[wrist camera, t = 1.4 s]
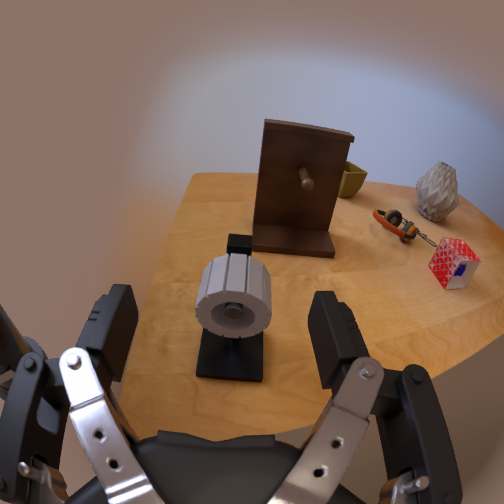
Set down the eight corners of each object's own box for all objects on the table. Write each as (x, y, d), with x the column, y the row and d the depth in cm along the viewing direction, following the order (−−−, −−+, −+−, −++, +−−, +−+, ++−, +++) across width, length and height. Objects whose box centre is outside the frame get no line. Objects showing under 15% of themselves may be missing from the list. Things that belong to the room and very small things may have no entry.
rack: (251, 251, 51) (265, 128, 37) (252, 222, 59) (264, 118, 45) (333, 258, 51) (366, 146, 38) (324, 230, 59) (348, 131, 46)
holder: (196, 376, 30) (183, 288, 21) (204, 324, 37) (201, 230, 27) (262, 382, 30) (286, 298, 21) (262, 330, 37) (280, 237, 27)
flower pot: (360, 199, 76) (368, 172, 70) (340, 202, 73) (347, 172, 67) (342, 186, 82) (348, 161, 77) (321, 188, 79) (327, 160, 73)
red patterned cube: (448, 265, 54) (462, 239, 49) (464, 287, 47) (480, 261, 43) (427, 265, 53) (442, 237, 48) (444, 289, 47) (461, 260, 42)
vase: (418, 200, 84) (434, 155, 73) (453, 224, 74) (472, 176, 63) (400, 206, 77) (417, 153, 65) (440, 233, 66) (462, 178, 55)
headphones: (444, 239, 58) (412, 232, 49) (435, 255, 61) (400, 252, 52) (404, 206, 71) (364, 194, 61) (396, 221, 73) (355, 212, 64)
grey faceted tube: (197, 334, 25) (193, 286, 21) (204, 298, 29) (203, 250, 25) (265, 340, 25) (276, 294, 21) (264, 304, 29) (274, 257, 25)
